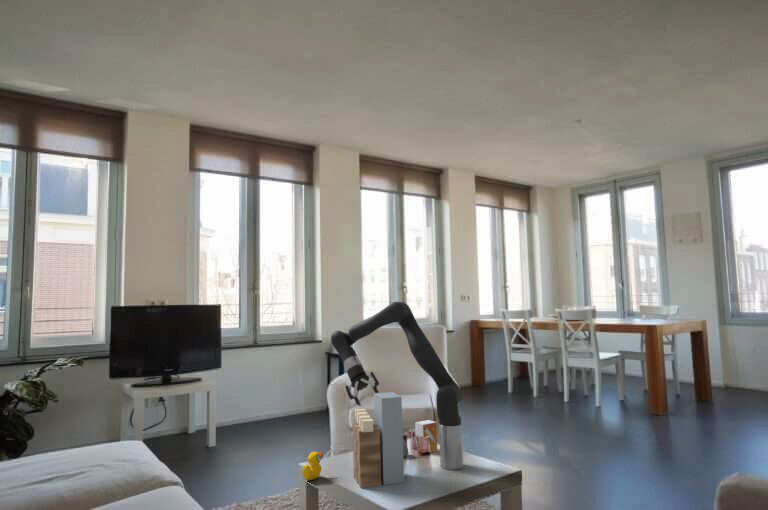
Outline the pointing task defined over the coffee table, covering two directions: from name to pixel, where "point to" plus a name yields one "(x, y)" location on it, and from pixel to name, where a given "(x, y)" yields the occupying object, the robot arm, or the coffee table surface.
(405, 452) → the mineral specimen
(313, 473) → the duckling
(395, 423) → the tall tower
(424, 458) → the coffee table surface
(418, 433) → the small box
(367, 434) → the brown wooden block
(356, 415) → the beam
